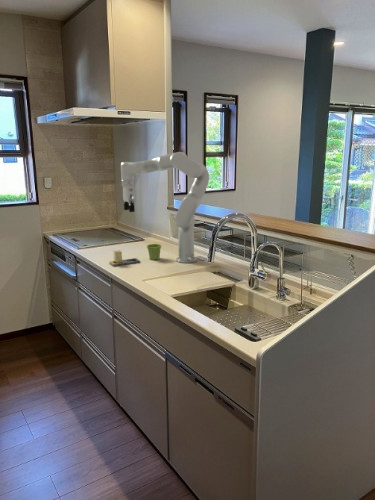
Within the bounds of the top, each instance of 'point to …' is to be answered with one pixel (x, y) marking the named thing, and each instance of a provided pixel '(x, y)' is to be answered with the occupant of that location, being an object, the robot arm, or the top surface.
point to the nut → (117, 256)
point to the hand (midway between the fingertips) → (129, 210)
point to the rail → (125, 262)
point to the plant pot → (154, 251)
